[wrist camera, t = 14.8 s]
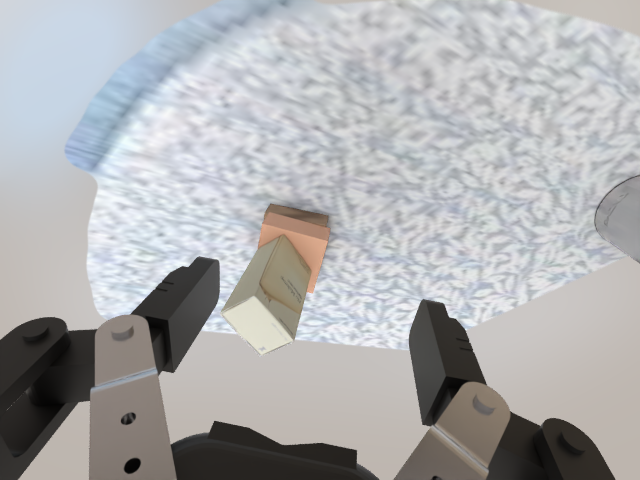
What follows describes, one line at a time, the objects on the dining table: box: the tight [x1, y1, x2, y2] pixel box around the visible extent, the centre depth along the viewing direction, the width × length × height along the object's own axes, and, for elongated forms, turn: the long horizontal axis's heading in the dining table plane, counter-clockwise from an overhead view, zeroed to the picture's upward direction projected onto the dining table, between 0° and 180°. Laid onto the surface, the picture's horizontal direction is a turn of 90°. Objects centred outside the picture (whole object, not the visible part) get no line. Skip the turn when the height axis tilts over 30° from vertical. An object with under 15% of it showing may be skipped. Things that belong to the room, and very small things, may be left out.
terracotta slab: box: [258, 212, 330, 293], centre depth 42 cm, size 8×8×4 cm
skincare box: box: [220, 235, 312, 357], centre depth 35 cm, size 6×4×12 cm
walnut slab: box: [264, 204, 328, 227], centre depth 45 cm, size 8×8×4 cm
